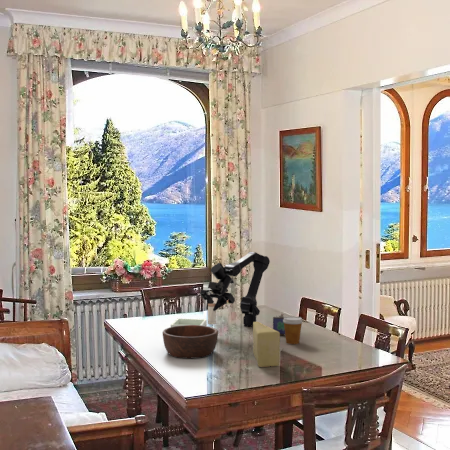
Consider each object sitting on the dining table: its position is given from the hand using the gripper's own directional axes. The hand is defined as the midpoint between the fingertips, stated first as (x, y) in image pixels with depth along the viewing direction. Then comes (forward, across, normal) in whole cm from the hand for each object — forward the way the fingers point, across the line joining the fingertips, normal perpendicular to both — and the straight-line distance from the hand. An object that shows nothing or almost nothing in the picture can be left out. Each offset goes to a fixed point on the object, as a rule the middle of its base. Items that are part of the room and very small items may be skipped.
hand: (210, 310), depth 315 cm
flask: (-8, +27, +28) cm, 39 cm away
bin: (+6, -18, +14) cm, 23 cm away
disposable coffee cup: (+1, +40, +19) cm, 44 cm away
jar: (+4, 0, +6) cm, 7 cm away
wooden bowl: (+31, +12, -12) cm, 36 cm away
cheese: (+25, +44, -6) cm, 51 cm away
